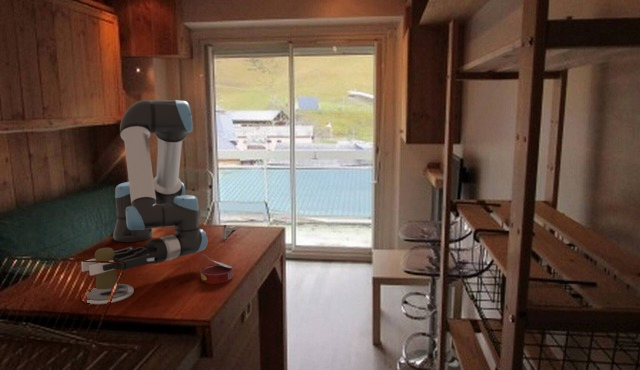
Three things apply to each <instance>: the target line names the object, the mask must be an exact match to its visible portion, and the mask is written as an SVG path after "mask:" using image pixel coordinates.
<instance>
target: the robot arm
mask: <svg viewBox="0 0 640 370" xmlns="http://www.w3.org/2000/svg"><path fill="white" fill-rule="evenodd" d="M193 124H194V123H193V116H192V111H191V106H190V104H189V102H188V101H186V100H178V99H175V100H168V99H167V100H164V99H163V100H155V99H151V100H150V99H143V100H139V101H137V102H135V103H133V104H132V105H130V107H128V109H127V110H126V111H125V113H124V114H123V116H122V117H121V121H120V125H119V134H120V139H121V140H123V142H124V148H125V149H124V150H125V158H126V159H125V160H126V168H127V169H126V170H127V176H128V181H126V182H122V183H119V184H118V185H116V187H115V193H114V198H115V207H116V223H115V227H114V231H113V233H112V234H113V241H115V242H120V243H134V242H141V241H145V240H147V241H146V243H145V245H144V247H143V246H137V247H136V248H135V247H134V246H128V247H126V248H121V249H118V250H114V252H115V256H114V258H113V260H110V261H109V262H121V263H123V264H121V263H96V262H83V261H81V263H80V264H81V272H82V273H84V272H87V271H89V276H94V275H95V276H96V274H99V273H103V272H106V271H110V270H114V269H115V270H116V271H117V270H120V271H126V270H130V269H133V268H138V267H141V266H145V265H151V264H152V265H156V264H160V263H163V262H165V261H166V262H167V261H169V262H170V261H171V262H172V261H173V259H177V258H181V257H184V256H188V255H194V254H196V253H200V252H202V251H203V250H205V249H206V248H207V247H208V243H209V241H208V237H207V234H206V231H205V230H203V229H201V228H200V223H199V222H200V221H199V220H200V219H199V212H200V210H199V202H198V201H199V200H198V197H197V196H195V195H190V194H186V187H185V184H184V182H182V181H181V179H180V167H181V166H180V165H181V159H182V158H181V157H182V156H181V155H182V147H183V141H185V139H186V138H187V136H188V134H190V133H192V132H193V130H194V125H193ZM151 134H154V136H155V137H156V138H157V139H158V140H157V141H158V143H157V157H156V158H157V160H156V176H155V177H154V173H153V168H152V167H153V166H152V159H151V152H150V145H149V138H150V137H151ZM169 227H175V229H174V230H175V234H170V235H165V236H161V237H160V238H159V237H157V238H153V239H151V238H152V237H153V236H154V233H153V229H159V228H169ZM86 261H97V260H96V259H95V258H92V259H88V260H86Z"/></svg>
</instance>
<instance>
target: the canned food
mask: <svg viewBox="0 0 640 370" xmlns="http://www.w3.org/2000/svg"><path fill="white" fill-rule="evenodd" d="M201 255H203V256H204V257H205V258H206V259H208V260H210V261H212V262H213V263H215V264H209V265H207V266H203V267H202V268H201V269H200V279H201V280H200V281H201V282H203V283H205V282H206V284H223V283H227V282H229V281H231V280H232V279H233V276H234V275H233V266H231V265H229V264H225V263H223V262H219V261H215V260H213V259H211V258H209V257H208V256H207V255H206V254H204V253H202V254H201Z"/></svg>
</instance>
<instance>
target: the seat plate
mask: <svg viewBox="0 0 640 370" xmlns="http://www.w3.org/2000/svg"><path fill="white" fill-rule="evenodd" d="M92 288H93V289H92ZM92 288H91V289H92V290H91V292H88V293H87V294H86V296H87V298H88V299H90V300H87V303H90V304H89V305H93V304H94V305H96V306H97V305H106V304H107V302H108V299H109V297H110V294H111V291H112V288H111V289H103V290H101V289H96V288H94V287H92ZM134 292H135V291H134V287H133V286H131V285H129V284H125V283H118V286H117V288H116V291H115V293H114V295H113V298H112V301H111V303H110V304H114V303H117V302H121V301H124V300H126V299H128V298H129V297H132V295H133V294H134ZM107 305H108V304H107Z"/></svg>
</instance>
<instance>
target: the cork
mask: <svg viewBox="0 0 640 370" xmlns="http://www.w3.org/2000/svg"><path fill="white" fill-rule="evenodd" d="M114 251H115V250H114V249H113V248H112V247H102V248H101V247H100V248H98V249H97V250H96V251H94V259H96V260H97V261H110V260H113V258H114V256H115V252H114ZM97 263H100V262H97ZM117 280H118V275H117V270H116V269H114V270H110V271H106V272H103V273H99V274H95V287H96V289H101V290H103V289H111V288H113V287H114V285H115V283H116V282H117ZM118 284H119V283H118ZM118 284H117V286H118Z"/></svg>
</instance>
